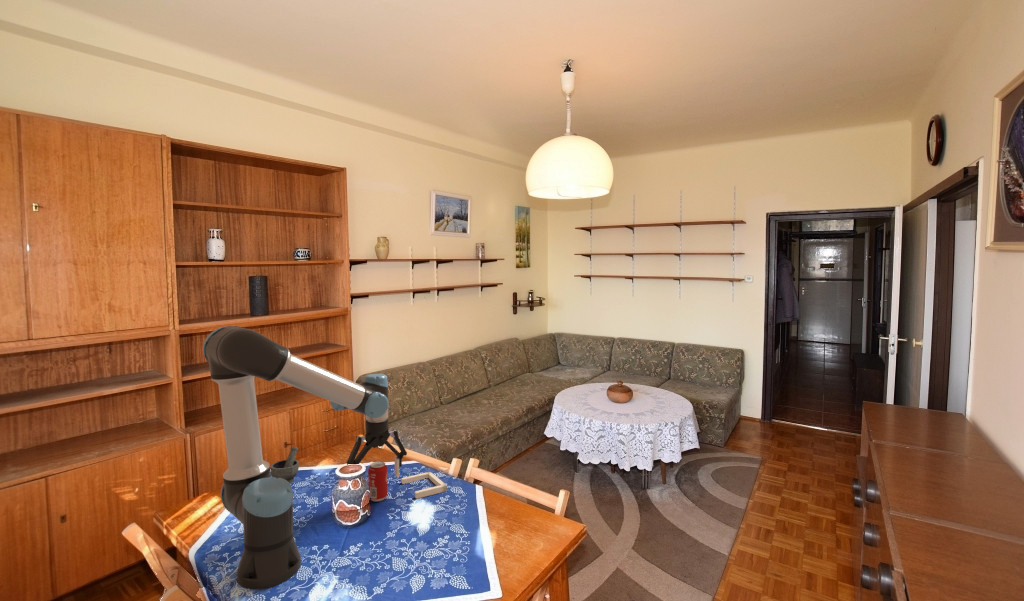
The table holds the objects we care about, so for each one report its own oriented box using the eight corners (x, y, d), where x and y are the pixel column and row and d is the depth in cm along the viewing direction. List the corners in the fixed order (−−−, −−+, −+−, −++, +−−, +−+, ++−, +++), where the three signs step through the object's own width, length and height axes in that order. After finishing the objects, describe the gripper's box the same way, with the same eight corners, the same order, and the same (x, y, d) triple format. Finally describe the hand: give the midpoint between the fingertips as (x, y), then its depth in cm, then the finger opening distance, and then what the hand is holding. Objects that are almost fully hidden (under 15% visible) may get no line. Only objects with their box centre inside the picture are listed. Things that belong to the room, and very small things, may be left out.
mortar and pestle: (286, 489, 175) (285, 456, 174) (264, 486, 177) (264, 453, 177) (307, 477, 185) (307, 446, 185) (287, 474, 188) (286, 443, 188)
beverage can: (391, 497, 168) (391, 463, 168) (377, 504, 163) (376, 469, 162) (378, 492, 171) (378, 459, 171) (364, 499, 166) (364, 465, 166)
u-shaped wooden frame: (447, 491, 173) (447, 485, 173) (416, 498, 167) (416, 493, 167) (430, 476, 185) (430, 471, 185) (401, 483, 179) (401, 478, 179)
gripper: (408, 411, 176) (408, 469, 177) (336, 422, 162) (337, 484, 163) (415, 416, 169) (416, 476, 170) (342, 428, 156) (343, 493, 157)
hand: (377, 480), depth 167 cm, fingers open, 13 cm apart
